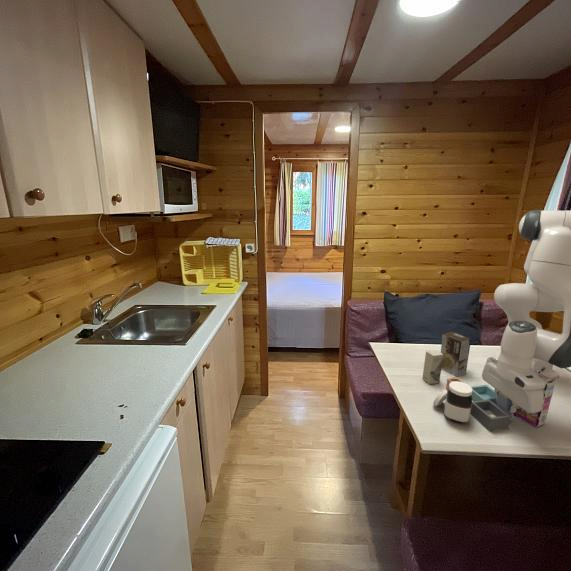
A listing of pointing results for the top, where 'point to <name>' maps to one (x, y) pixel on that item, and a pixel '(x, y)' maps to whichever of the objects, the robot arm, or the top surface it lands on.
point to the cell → (504, 403)
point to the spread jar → (456, 401)
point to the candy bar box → (541, 416)
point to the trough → (483, 393)
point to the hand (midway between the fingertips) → (505, 406)
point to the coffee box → (455, 353)
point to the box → (432, 366)
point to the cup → (452, 381)
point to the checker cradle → (490, 415)
